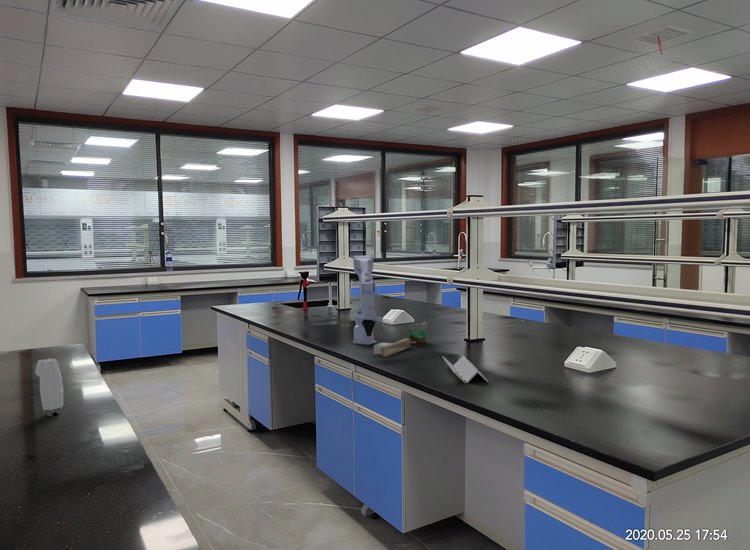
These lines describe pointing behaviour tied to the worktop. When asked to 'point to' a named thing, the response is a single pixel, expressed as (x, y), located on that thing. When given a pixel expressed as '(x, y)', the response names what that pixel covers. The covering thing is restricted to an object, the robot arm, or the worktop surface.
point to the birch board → (395, 347)
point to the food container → (417, 333)
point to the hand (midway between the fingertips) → (369, 335)
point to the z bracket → (464, 369)
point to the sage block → (378, 347)
